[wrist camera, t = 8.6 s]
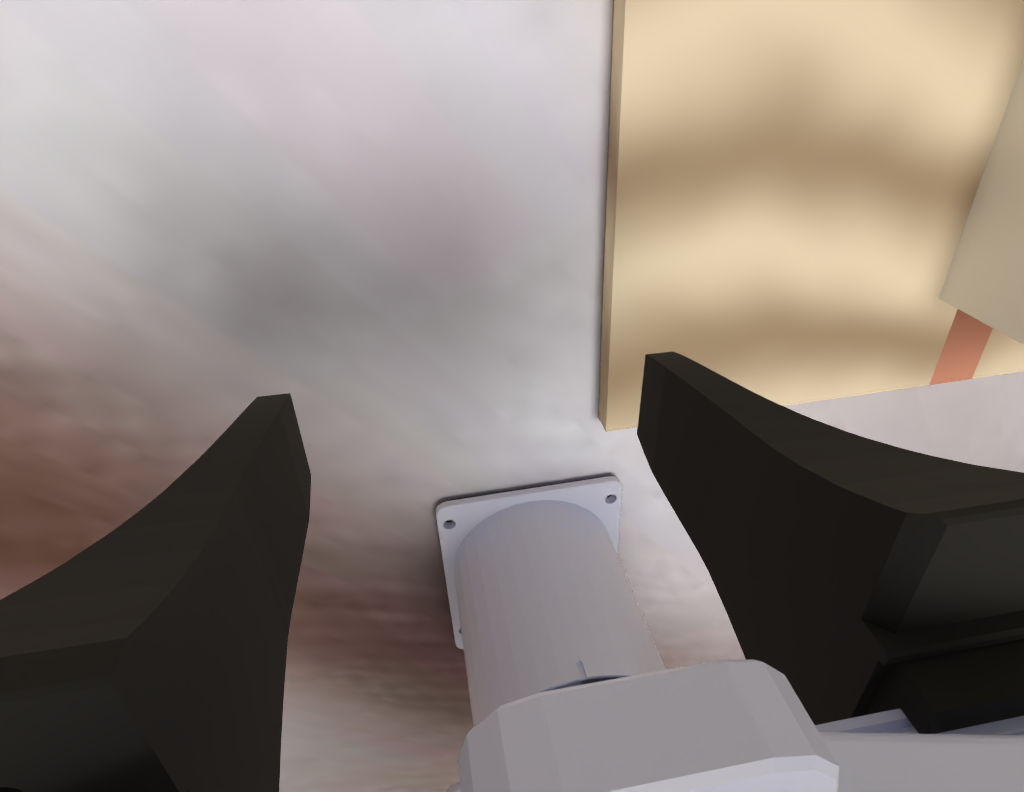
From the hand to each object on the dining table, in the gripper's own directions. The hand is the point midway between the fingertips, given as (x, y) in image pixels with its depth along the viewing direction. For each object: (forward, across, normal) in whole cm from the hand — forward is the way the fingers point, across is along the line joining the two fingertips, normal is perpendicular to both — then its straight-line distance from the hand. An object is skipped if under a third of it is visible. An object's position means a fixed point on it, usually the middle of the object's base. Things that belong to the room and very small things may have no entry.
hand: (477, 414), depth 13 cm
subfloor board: (+9, -17, -2) cm, 20 cm away
